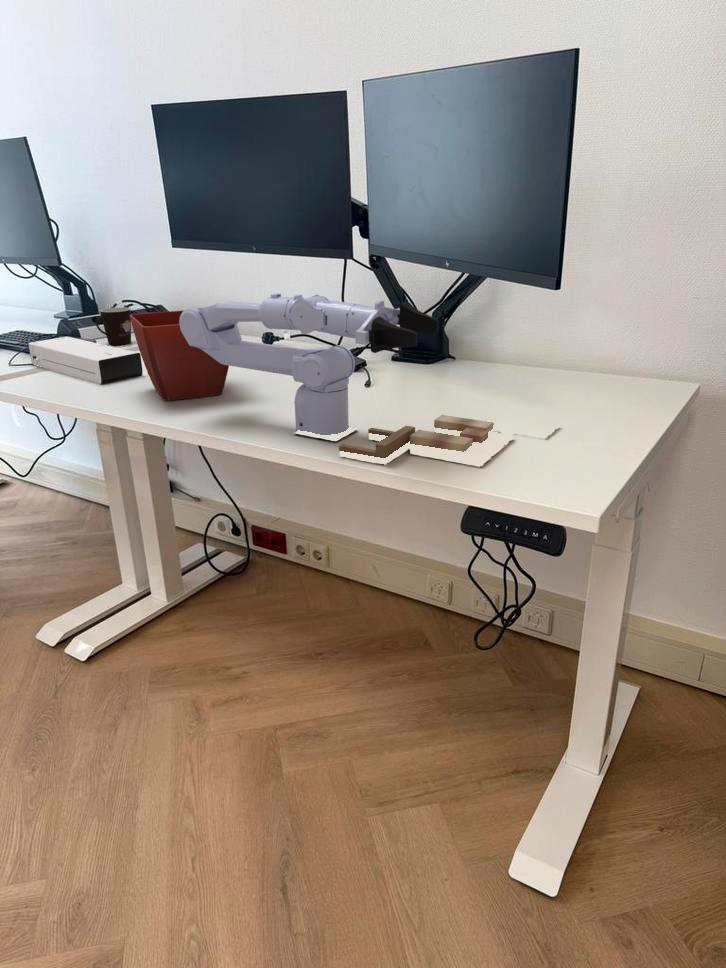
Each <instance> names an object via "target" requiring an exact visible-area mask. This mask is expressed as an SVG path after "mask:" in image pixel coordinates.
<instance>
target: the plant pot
mask: <svg viewBox="0 0 726 968" xmlns="http://www.w3.org/2000/svg"><path fill="white" fill-rule="evenodd" d="M183 311H184V310H173V311H171V310H170V311H158V312H157V311H156V312H155V311H154V312H153V311H152V312H143V313H131V314H130V319H131V328H132V330H133V334H134V337H135V340H136V344H137V348H138V349H139V350H138V351H139V353H140V355H141V360H142V361H143V364H144V366H145V369H146V371H147V374H148V376H149V378H150V381H151V383H152V386H153V387H154V389H155V390H156V392H157V393H158V394H159V396H160V397H161V398H162V400H164V401H168V402H169V401H176V400H185V399H194V398H205V397H213V396H219V395H222V394H223V392H224V391H223V390H224V387H225V384H226V380H227V377H228V372H229V367H230V366H228V365H223V364H221V363H219V362H218V361H217V360H215V359H214V358H212V357H211V356H210V355H208V354H207V353H206V352H204V351H203V350H202V349H200V348H196V347H193V346H190V345H189V344H188V342H187V340H186V339H185V337H184V335H183V334H182V332H181V329H180V323H179V321H180V316H181V314H182V312H183Z"/></svg>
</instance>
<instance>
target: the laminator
mask: <svg viewBox="0 0 726 968" xmlns="http://www.w3.org/2000/svg"><path fill="white" fill-rule="evenodd" d="M27 344H28V351H29V357H30V361H31V363H32V366H34V365H38V366H42V367H43V368H42V369H45V370H49V371H51V372H56V373H59V374H63V375H66V376H70V377H73V378H77V379H80V380H85V381H87V382H92V383H94V384H98V385H103V384H108V383H110V384H111V383H113V382H117V381H118V382H119V381H123V380H126V379H127V380H128V379H132V378H136V377H142V376H143V371H144V370H143V363H142V356H141V353H140V352H137V351H133V350H128V349H123V348H120V347H117V346H110V345H106V344H101V343H99V342H98V343H97V342H93V341H89V340H88V341H87V340H84V339H80V338H75V337H71V336H61V337H56V338H49V339H45V340H37V341H32V342H28V343H27ZM38 366H37V367H38Z"/></svg>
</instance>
